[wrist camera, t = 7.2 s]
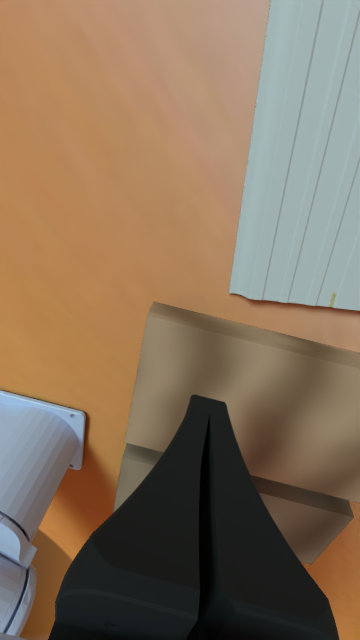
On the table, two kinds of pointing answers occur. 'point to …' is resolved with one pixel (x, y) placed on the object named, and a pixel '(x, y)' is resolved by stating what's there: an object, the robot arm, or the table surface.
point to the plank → (254, 396)
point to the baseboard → (304, 161)
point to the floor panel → (280, 499)
